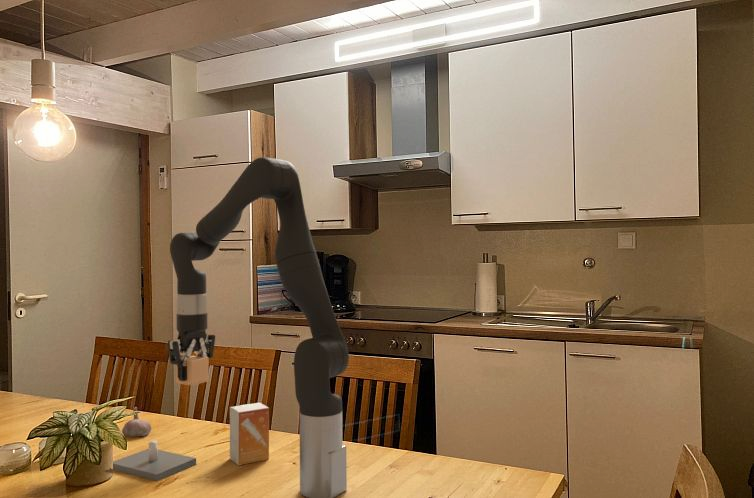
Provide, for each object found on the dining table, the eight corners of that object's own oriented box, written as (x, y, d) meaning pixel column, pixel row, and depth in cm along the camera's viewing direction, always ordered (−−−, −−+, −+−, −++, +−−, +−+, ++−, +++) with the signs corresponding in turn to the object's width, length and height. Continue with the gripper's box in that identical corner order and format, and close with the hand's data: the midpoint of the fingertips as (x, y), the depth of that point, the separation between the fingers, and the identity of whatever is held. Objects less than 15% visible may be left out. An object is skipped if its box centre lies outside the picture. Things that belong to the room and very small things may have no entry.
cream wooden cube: (208, 381, 156) (208, 357, 155) (191, 385, 151) (191, 361, 151) (193, 378, 158) (192, 355, 158) (176, 382, 154) (175, 359, 153)
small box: (238, 466, 147) (238, 412, 147) (229, 458, 152) (229, 406, 152) (269, 459, 151) (269, 407, 151) (259, 452, 157) (259, 401, 157)
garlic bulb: (116, 437, 170) (116, 408, 170) (138, 430, 177) (138, 402, 177) (135, 441, 167) (134, 412, 166) (156, 434, 173) (156, 405, 173)
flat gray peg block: (196, 464, 148) (195, 439, 148) (156, 481, 138) (156, 454, 138) (150, 453, 156) (150, 430, 156) (109, 468, 145) (109, 443, 145)
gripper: (180, 315, 146) (180, 385, 146) (223, 309, 159) (223, 374, 159) (158, 313, 150) (159, 382, 150) (202, 308, 162) (203, 371, 163)
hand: (192, 378), depth 154 cm, fingers closed on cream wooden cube, 5 cm apart
